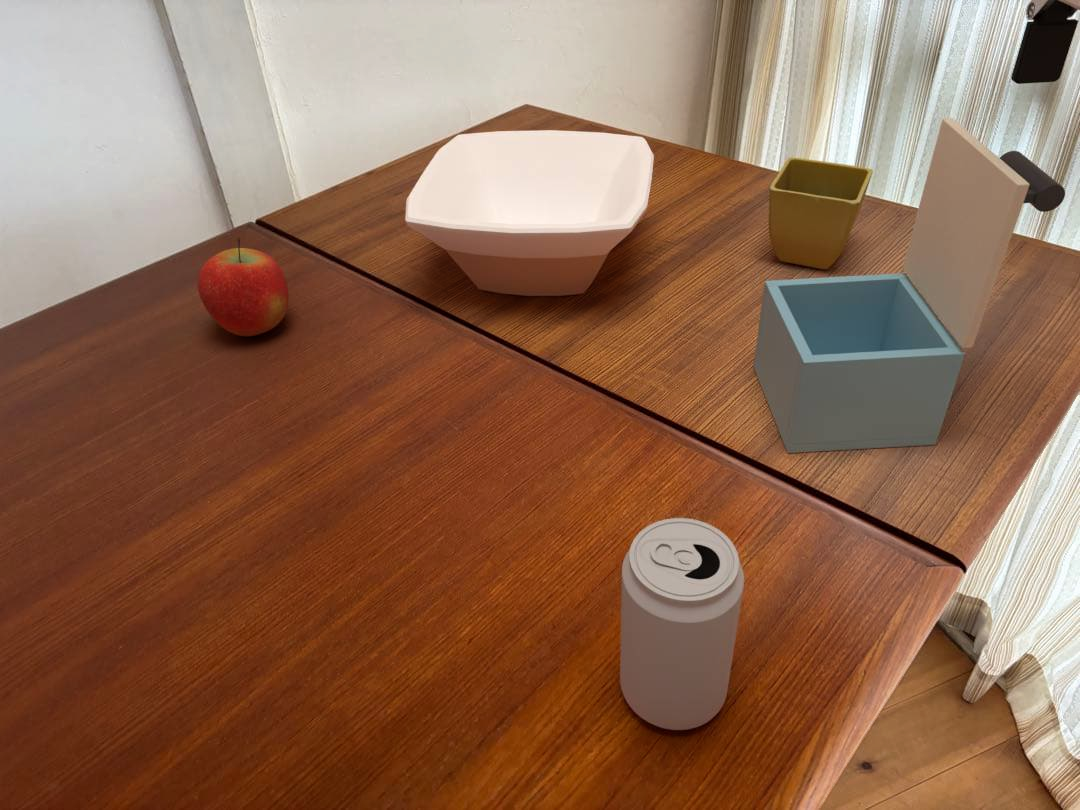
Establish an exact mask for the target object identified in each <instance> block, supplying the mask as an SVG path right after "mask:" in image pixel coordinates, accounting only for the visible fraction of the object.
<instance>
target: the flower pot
mask: <svg viewBox="0 0 1080 810" xmlns="http://www.w3.org/2000/svg"><path fill="white" fill-rule="evenodd" d="M873 172H874V171H873V169H872V168H869V167H868V168H867V167H863V166H859V165H857V166H856V165H851V164H844V163H838V162H829V161H823V160H815V159H808V158H803V157H802V158H801V157H791V156H790V157H788V158H787V159H786V160H785V161H784V163H783V166H782V167H781V169H780V170H779V172H778V173H777V175H776V176H775V178H774V180H773V181H772V183H771V184H770V186H769V195H768V236H769V240H770V243H771V246H772V250H773V252H774V253H775V255H776V257H777V258H778V260H779V261H780V262H784V263H789V264H794V265H799V266H806V267H809V268H814V269H820V270H828V269H829V268H830V267H831V266H832V265H833V264H834V263H835V262H836V260H837V259H838V258H839V257H840V255H841V253H842V252H843V250H844V248H845V247H846V245H847V242H848V240H849V238H850V235H851V232H852V229H853V227H854V225H855V223H856V221H857V218H858V216H859V214H860V212H861V208H862V206H863V203H864V199H865V197H866V193H867V191H868V188H869V185H870V182H871V178H872V175H873Z"/></svg>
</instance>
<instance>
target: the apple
mask: <svg viewBox="0 0 1080 810" xmlns="http://www.w3.org/2000/svg"><path fill="white" fill-rule="evenodd" d="M240 245H241V237H240V236H238V237H237V247H234V248H229V249H225V250H222V251H220V252H218V253H216V254H215V255H213V256H211V257H210V258H209V259H208V260H207V261H206V262H205V263H204V264H203V266H202V267H201V269H200V271H199V274H198V276H197V292H198V295H199V298H200V300H201V302H202V304H203V306H204V308H205V310H206V311H207V313H208V314H209V315H210V316H211V318H212V319H213V320H214V321H215V322H216V323H217V324H218V325H219V326H220V327H221V328H223V329H224V330H226V331H227V332H229V333H231V334H233V335H236V336H240V337H253V336H257V335H258V336H259V335H261V334H264V333H267V332H269V331H270V330H273V329H274V328H275V327H277V326H278V325H279V324H280V322H281V321H282V320H283V318H284V317H285V315H286V312H287V310H288V306H289V288H288V282H287V279H286V276H285V274H284V272H283V270H282V268H281V267H280V265H279V264H278V263H277V261H276V260H275V259H274V258H272V257H271V256H270V255H268V254H267V253H265V252H263V251H260V250H257V249H253V248H246V247H241V246H240Z"/></svg>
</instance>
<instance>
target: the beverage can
mask: <svg viewBox="0 0 1080 810" xmlns="http://www.w3.org/2000/svg"><path fill="white" fill-rule="evenodd" d="M739 557H740V556H739V553H738V551H737V548H736V546H735V545H734V542H733V541H732V540H731V539H730V538H729V537H728V536H727V535H726V534H725V533H724V532H723V531H721V530H720V529H719V528H717V527H715V526H713V524H709V523H707V522H704V521H701V520H698V519H693V518H687V517H673V518H672V517H671V518H666V519H661V520H658V521H655V522H653V523H651V524H649V525H647V526H646V527H644V528H643V529H642V530H640V531H639V532H638V533H637V534H636V535H635V537H634V539H633V541H632V542H631V545H630V548H629V550H628V551H627V552H626V554H625V556H624V558H623V562H622V566H621V597H620V598H621V599H620V601H621V603H620V650H619V651H620V652H619V653H620V657H619V661H620V662H619V683H620V690H621V692H622V696H623V697H624V699H625V701H626V703H627V705H628V706H629V707H630V708H631V709H632V711H633V712H634V713H635V714H636V715H637V716H639V718H641V719H643V721H645V722H647V723H649V724H651V725H653V726H656V727H658V728H661V729H664V730H671V731H685V730H691V729H695V728H699V727H701V726H703V725H705V724H707V723H709V722H710V721H711V720H712V719H713V718H714V717H715V716H716V715H717V714H718V713H719V712H720V711H721V710H722V708H723V706H724V705H725V702H726V699H727V695H728V690H729V683H730V677H731V670H732V665H733V658H734V652H735V645H736V638H737V632H738V625H739V618H740V612H741V606H742V599H743V593H744V587H745V574H744V569H743V567H742V564H741V562H740V558H739Z"/></svg>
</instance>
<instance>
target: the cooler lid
mask: <svg viewBox="0 0 1080 810" xmlns="http://www.w3.org/2000/svg"><path fill="white" fill-rule="evenodd" d="M921 194H922V195H921V198H920V201H919V204H918V209H917V212H916V216H915V220H914V223H913V227H912V231H911V234H910V238H909V242H908V246H907V250H906V253H905V256H904V261H903V264H902V269H903V271H904V273H906V275H907V276H908V277H909V279H910V280H911V281H912V283H913V284H914V285H915V287H916V288H917V289H918V291H919V292H920V294H921V295H922V296H923V298H924V299H925V300H926V302H927V303H928V304H929V306H930V307H931V308H932V310H933V311H934V312H935V314H936V315H937V316H938V318H939V319H940V320H941V322H942V323H943V324H944V326H945V327H946V328H947V330H948V331H949V332H950V334H951V335H952V336H953V338H954V339H955V340H956V342H957V343H958V344H959V346H960V347H961V348H962V349H970V348H973V347H974V344H975V341H976V339H977V335H978V333H979V331H980V327H981V324H982V321H983V319H984V316H985V313H986V311H987V308H988V304H989V302H990V298H991V296H992V293H993V290H994V287H995V285H996V283H997V279H998V276H999V274H1000V271H1001V268H1002V264H1003V262H1004V259H1005V257H1006V253H1007V250H1008V248H1009V244H1010V242H1011V240H1012V236H1013V233H1014V230H1015V228H1016V225H1017V223H1018V219H1019V216H1020V213H1021V211H1022V209H1023V205H1024V204H1030V205H1031V206H1032V207H1033V208H1034V209H1036V210H1037V211H1038V212H1042V213H1048V212H1051V211H1053V210H1055V209H1057V208H1058V207H1059V206H1060V205H1061V204H1062V203H1063V201H1064V200H1065V198H1066V190H1065V188H1064V187H1063V185H1061V184H1060V183H1059V182H1057V180H1055V179H1053V178H1052V177H1051V176H1050V175H1049V174H1048V173H1046V172H1045V171H1044V170H1043V169H1042V168H1040V167H1039V166H1038V165H1037V164H1035V163H1034V162H1033V161H1032V160H1031V159H1029V158H1028V157H1027V156H1025V155H1024V154H1023V153H1022V152H1021V151H1018V150H1010V151H1007V152H1005V153H1003V154H1002V155H1001V156H1000V157H999V156H997V154H995V153H994V152H993V151H992V150H991V149H989V148H988V147H987V146H986V145H985V144H983V143H982V142H981V141H980V140H979V139H978V138H977V137H976V136H975V135H973V134H972V133H971V132H970V131H969V130H967V129H966V128H965V127H964V126H963V125H961V124H960V123H959V122H958V121H957V120H955V119H954V118H953V117H947V118H945V117H944V118H942V119H941V124H940V127H939V131H938V135H937V138H936V142H935V146H934V149H933V153H932V157H931V161H930V165H929V168H928V171H927V175H926V179H925V183H924V187H923V190H922V193H921Z"/></svg>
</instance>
